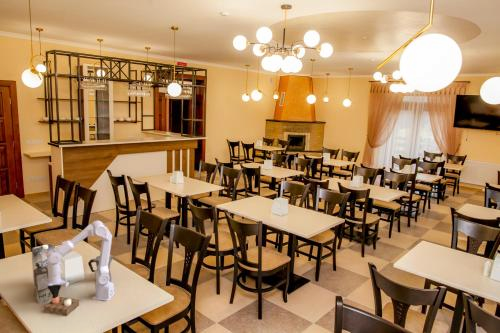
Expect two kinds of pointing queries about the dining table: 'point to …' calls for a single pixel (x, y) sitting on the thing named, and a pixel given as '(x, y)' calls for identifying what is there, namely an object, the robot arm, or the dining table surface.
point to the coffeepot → (98, 264)
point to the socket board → (61, 307)
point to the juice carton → (40, 256)
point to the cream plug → (67, 302)
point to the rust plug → (55, 300)
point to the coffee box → (41, 285)
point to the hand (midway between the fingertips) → (55, 297)
